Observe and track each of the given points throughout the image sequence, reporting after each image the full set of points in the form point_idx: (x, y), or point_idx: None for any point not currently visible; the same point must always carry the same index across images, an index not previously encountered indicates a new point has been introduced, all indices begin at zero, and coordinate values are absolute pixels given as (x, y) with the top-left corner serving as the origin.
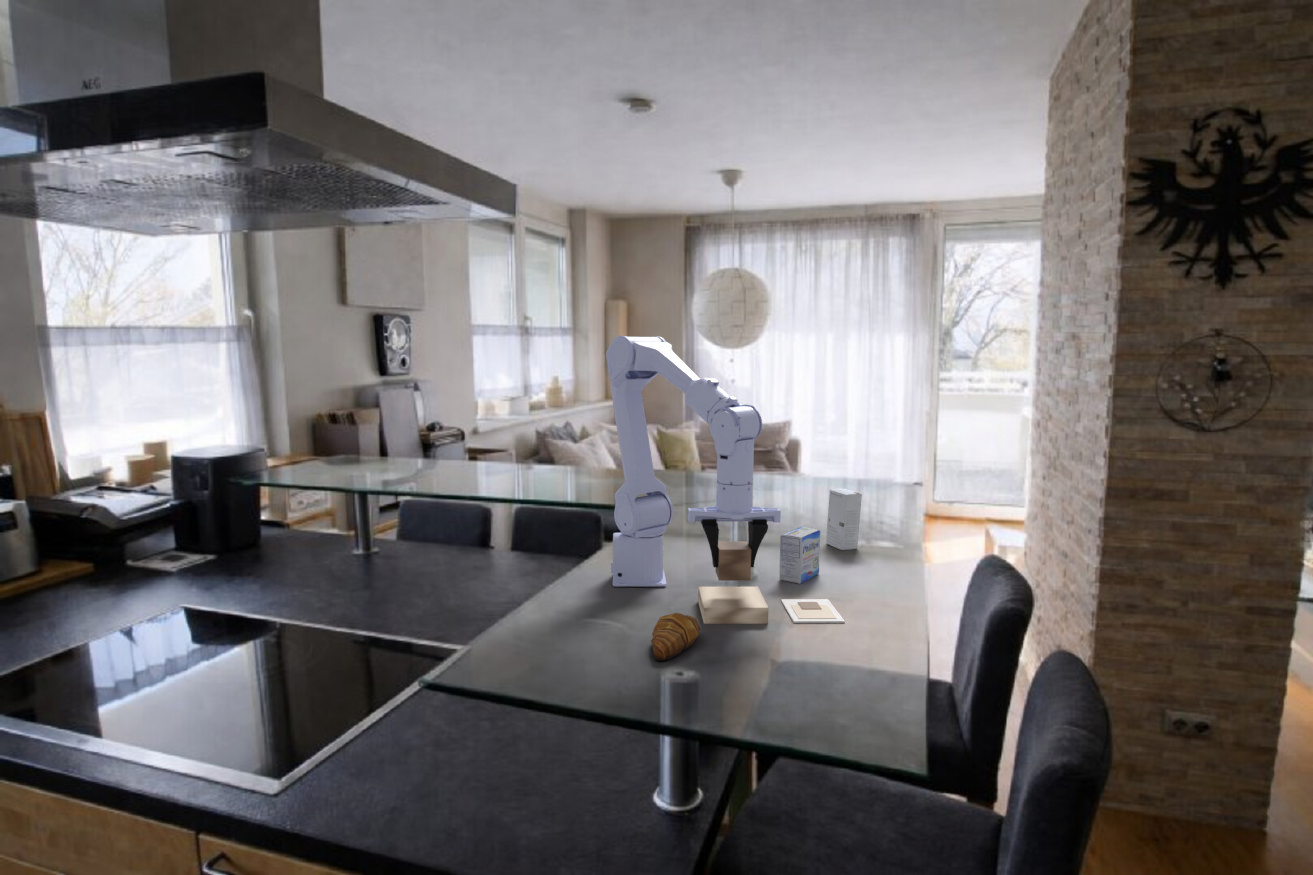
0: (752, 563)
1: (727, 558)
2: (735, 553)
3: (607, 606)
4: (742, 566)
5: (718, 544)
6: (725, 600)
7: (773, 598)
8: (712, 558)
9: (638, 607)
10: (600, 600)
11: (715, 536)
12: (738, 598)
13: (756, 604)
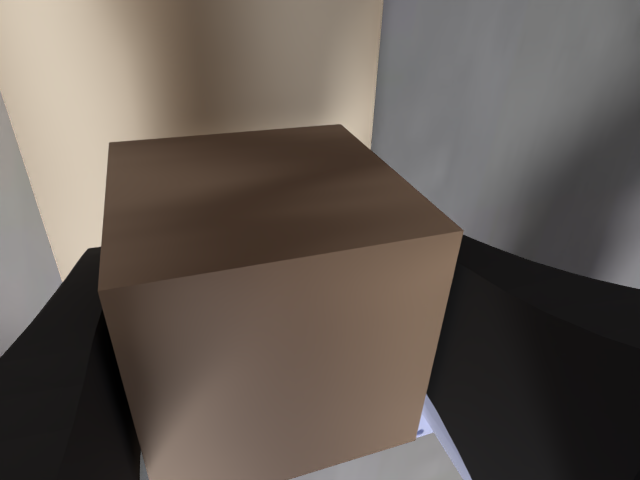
0: (91, 256)
1: (345, 200)
2: (285, 234)
3: (621, 157)
4: (188, 183)
5: (420, 376)
6: (258, 110)
7: (4, 329)
8: None
9: (541, 158)
10: (619, 205)
11: (606, 317)
12: None
13: (65, 50)
